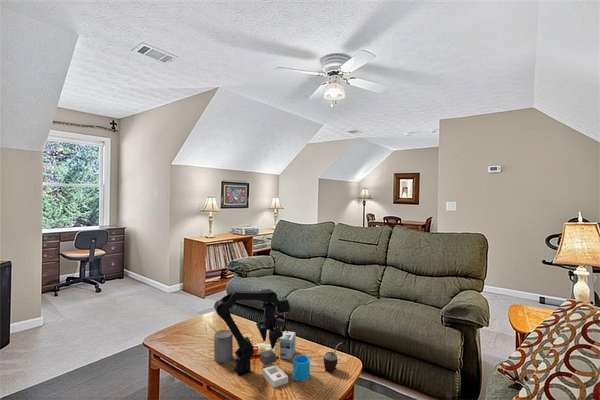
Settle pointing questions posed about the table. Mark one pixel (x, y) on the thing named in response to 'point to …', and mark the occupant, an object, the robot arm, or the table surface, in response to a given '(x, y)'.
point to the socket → (275, 376)
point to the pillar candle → (223, 346)
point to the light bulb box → (287, 345)
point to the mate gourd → (330, 360)
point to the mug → (301, 367)
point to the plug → (267, 358)
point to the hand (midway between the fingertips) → (268, 344)
